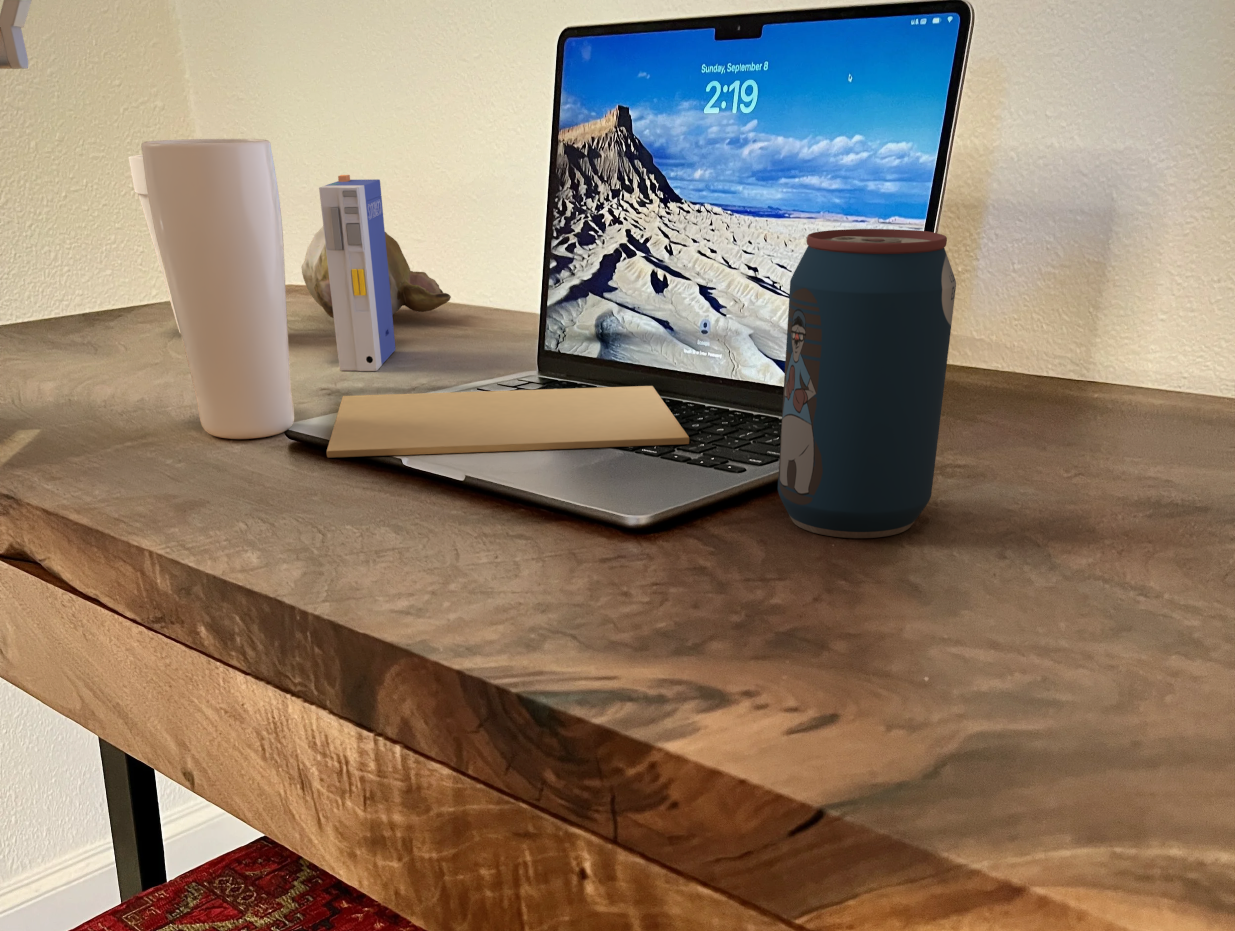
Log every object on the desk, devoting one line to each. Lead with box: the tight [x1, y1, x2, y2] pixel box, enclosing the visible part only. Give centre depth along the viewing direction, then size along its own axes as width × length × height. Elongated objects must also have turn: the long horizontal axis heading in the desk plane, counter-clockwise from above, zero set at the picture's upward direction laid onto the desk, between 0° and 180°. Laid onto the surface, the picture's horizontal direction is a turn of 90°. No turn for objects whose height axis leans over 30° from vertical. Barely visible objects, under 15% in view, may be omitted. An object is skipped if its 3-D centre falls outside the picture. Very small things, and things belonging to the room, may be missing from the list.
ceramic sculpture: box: [300, 226, 452, 319], centre depth 107 cm, size 11×9×15 cm
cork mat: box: [326, 385, 690, 459], centre depth 76 cm, size 20×14×1 cm
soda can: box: [777, 228, 957, 539], centre depth 55 cm, size 7×7×12 cm
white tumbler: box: [140, 138, 295, 440], centre depth 70 cm, size 7×7×15 cm
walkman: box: [318, 174, 397, 372], centre depth 90 cm, size 8×3×12 cm, turn 179°
